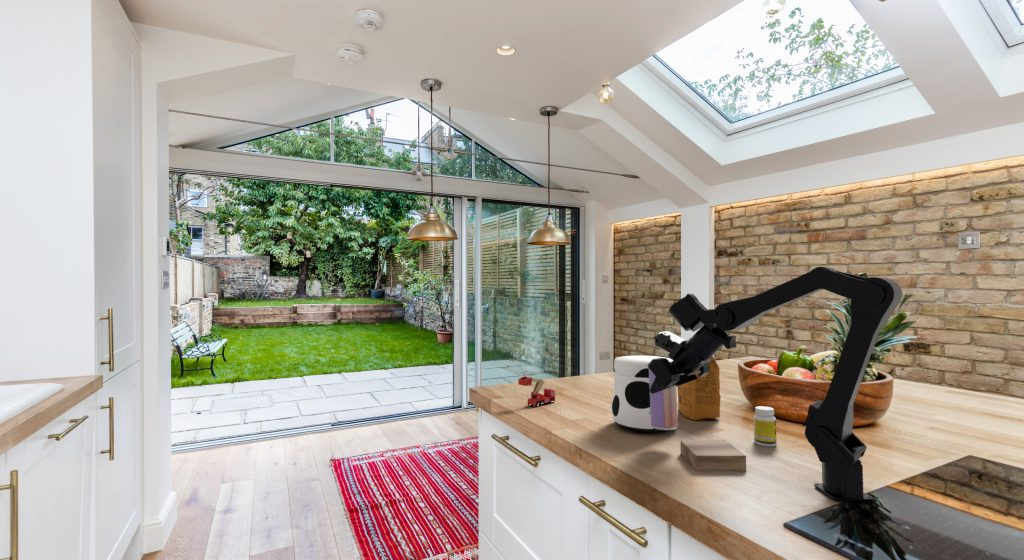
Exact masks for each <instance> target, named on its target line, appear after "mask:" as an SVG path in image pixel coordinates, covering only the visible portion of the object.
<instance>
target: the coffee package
mask: <svg viewBox="0 0 1024 560" xmlns="http://www.w3.org/2000/svg"><path fill="white" fill-rule="evenodd" d="M690 338H691V337H690ZM690 338H688V340H689V339H690ZM707 363H708V364H709V365H710V372H709V373H708V374H707V375H706V376H705V377H701V378H700V377H699V376H698V375H699V374H700V373H701V371H699V372H698V373H697V374H695V375H696V376H697V377H698V379H697V380H694V381H691V382H688V383H685V384H682V385H679V386H676V390H677V405H678V411H679V412H678V413H681V414H682V416H683V417H684V416H685V417H684V418H686V417H687V418H686V419H689V420H692V421H700V420H704V419H705V420H706V419H709V420H710V419H712V420H713V419H717V418H720V417H721V393H720V389H721V383H720V366H719V365H718V363H717V362H716V359H715V358H714V355H713V356H712V360H711V361H710V362H707Z"/></svg>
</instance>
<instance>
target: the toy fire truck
mask: <svg viewBox="0 0 1024 560" xmlns="http://www.w3.org/2000/svg"><path fill="white" fill-rule="evenodd" d="M532 382H533V383H535V385H534V388H533V390H532V391H531V392H530V397H529V398H527V405H528V404H531V405H539V404H544V403H548V402H552V401H555V402H556V393H555V390H554V389H552V388H546V387H545V388H544V389H543V394H542V393H540V391H541V390H542V387H543V386H544V384H545V381H544V380H543V378H537V377H530V376H527V375H524V376H521V377H519V378H518V382H517V384H518V385H519V386H524V387H528V386H532ZM548 404H549V403H548ZM544 405H545V404H544Z"/></svg>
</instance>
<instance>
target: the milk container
mask: <svg viewBox="0 0 1024 560" xmlns="http://www.w3.org/2000/svg"><path fill="white" fill-rule="evenodd" d="M656 358H666V359H667V360H668V361H669V362H672V361H674V360H673V359H671V358H670V357H663V356H654V355H624V356H617V357H615V358H614V362H613V372H614V373H613V381H614V387H613V388H614V391H613V396H612V399H611V403H610V405H611V406H610V409H611V415H612V419H613V422H614V423H615V424H616V425H618V426H620V427H621V428H623V429H624V428H625V429H628V430H630V431H631V430H632V431H639V432H646V433H652V432H663V431H664V430H659V429H655V428H653V427H652V425H651V414H650V389H649V368H648V364H649V362H651V360H652V359H656ZM677 416H678V417H679V412H678V404H677Z"/></svg>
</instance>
